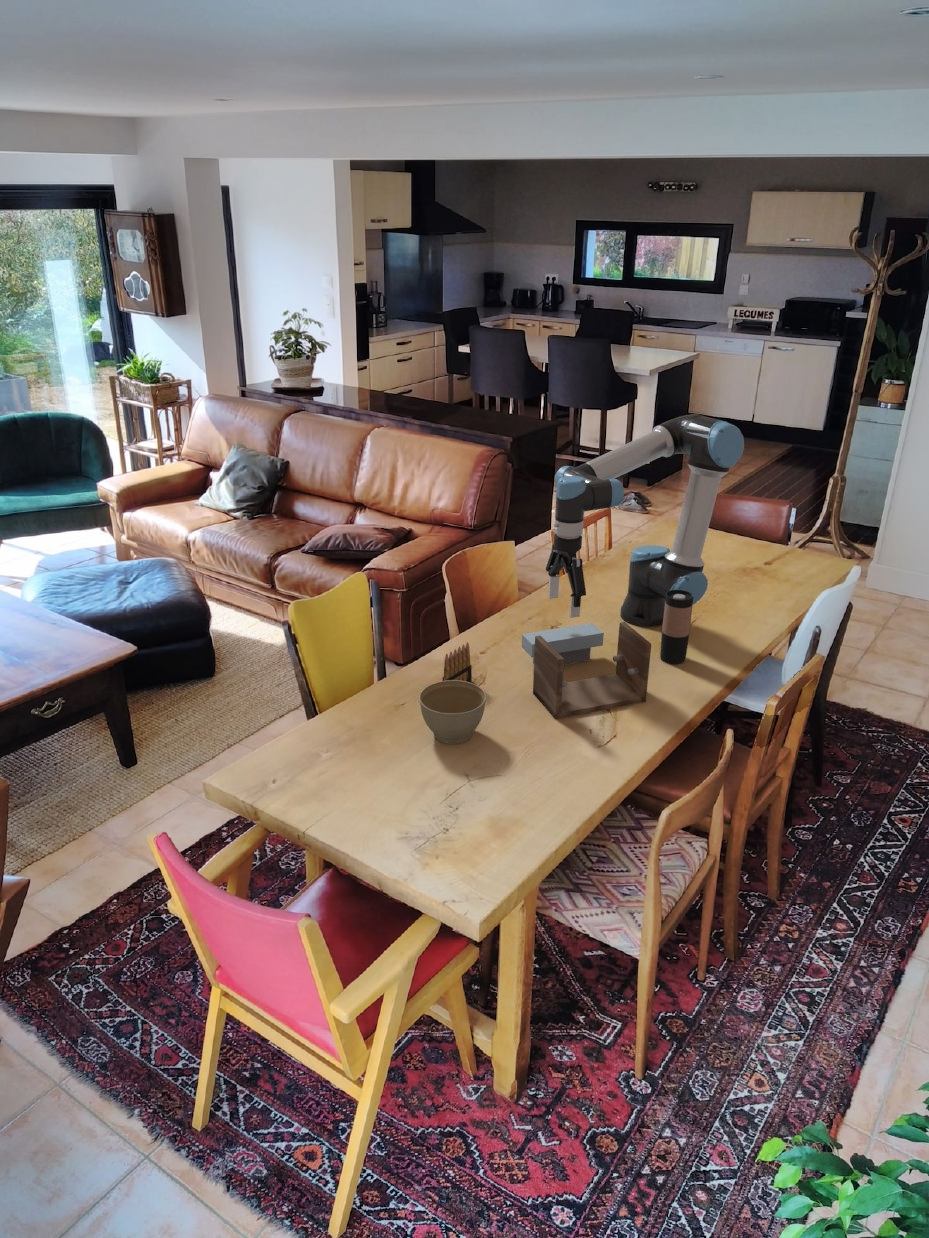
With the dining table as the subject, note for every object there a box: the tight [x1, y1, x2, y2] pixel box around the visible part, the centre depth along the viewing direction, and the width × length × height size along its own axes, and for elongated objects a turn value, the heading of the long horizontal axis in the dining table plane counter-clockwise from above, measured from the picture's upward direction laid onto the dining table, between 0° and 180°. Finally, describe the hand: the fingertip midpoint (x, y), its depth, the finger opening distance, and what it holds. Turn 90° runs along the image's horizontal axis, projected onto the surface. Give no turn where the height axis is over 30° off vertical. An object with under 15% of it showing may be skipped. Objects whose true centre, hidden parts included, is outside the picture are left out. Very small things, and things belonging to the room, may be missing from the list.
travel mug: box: [659, 590, 694, 665], centre depth 258 cm, size 8×8×20 cm
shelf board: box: [521, 622, 605, 658], centre depth 257 cm, size 22×7×4 cm, turn 110°
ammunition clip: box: [441, 641, 473, 683], centre depth 244 cm, size 11×2×12 cm, turn 142°
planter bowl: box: [418, 680, 487, 745], centre depth 223 cm, size 16×16×11 cm
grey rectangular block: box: [532, 647, 592, 666], centre depth 259 cm, size 16×4×5 cm, turn 110°
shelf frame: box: [532, 621, 652, 720], centre depth 238 cm, size 26×14×17 cm, turn 110°
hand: (563, 607), depth 253 cm, fingers open, 13 cm apart
